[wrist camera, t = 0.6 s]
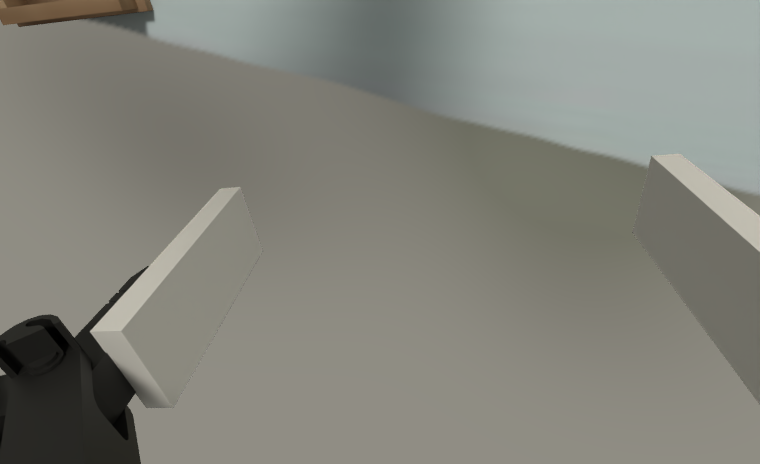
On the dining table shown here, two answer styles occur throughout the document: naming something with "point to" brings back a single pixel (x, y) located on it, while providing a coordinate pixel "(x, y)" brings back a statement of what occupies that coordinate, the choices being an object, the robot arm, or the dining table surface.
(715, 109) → the dining table surface
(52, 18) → the box
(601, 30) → the dining table surface
